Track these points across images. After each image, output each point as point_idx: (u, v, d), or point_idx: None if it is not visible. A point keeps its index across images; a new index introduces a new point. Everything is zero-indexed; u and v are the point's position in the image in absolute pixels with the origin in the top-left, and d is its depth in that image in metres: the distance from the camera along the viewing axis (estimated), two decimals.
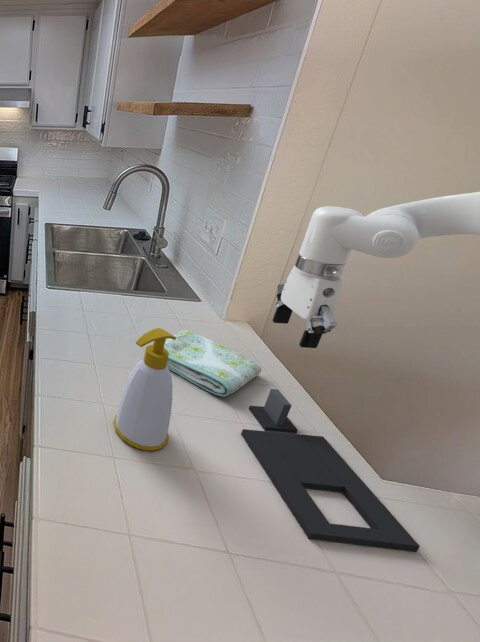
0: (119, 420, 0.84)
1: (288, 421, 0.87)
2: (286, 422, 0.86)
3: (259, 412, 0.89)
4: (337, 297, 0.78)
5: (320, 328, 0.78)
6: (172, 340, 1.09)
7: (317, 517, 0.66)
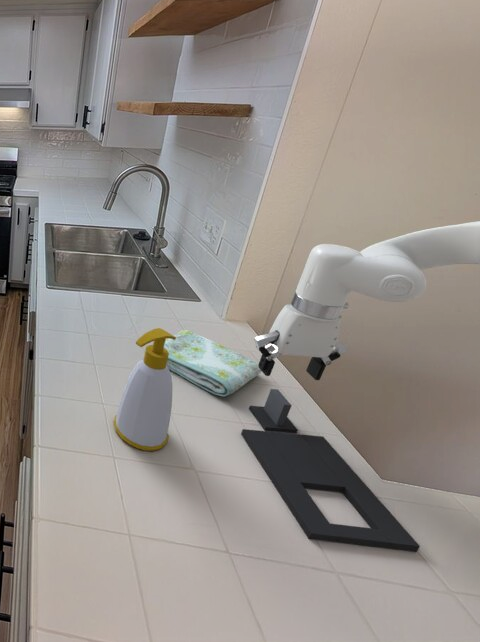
0: (119, 420, 0.84)
1: (288, 421, 0.87)
2: (286, 422, 0.86)
3: (259, 412, 0.89)
4: None
5: (338, 356, 0.79)
6: (172, 340, 1.09)
7: (317, 517, 0.66)
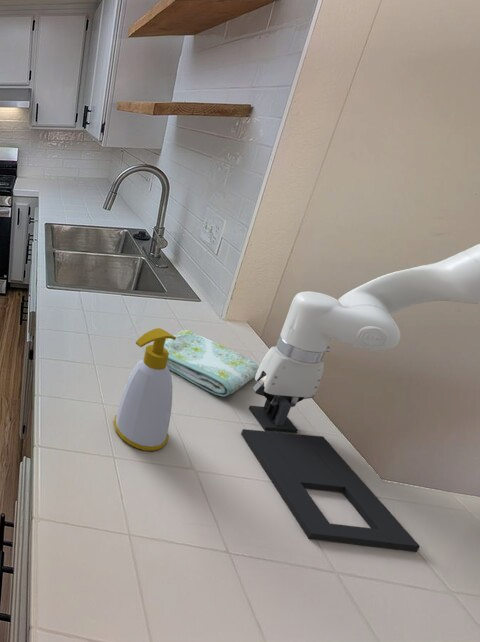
0: (119, 420, 0.84)
1: (288, 421, 0.87)
2: (286, 422, 0.86)
3: (259, 412, 0.89)
4: None
5: (302, 398, 0.84)
6: (172, 340, 1.09)
7: (317, 517, 0.66)
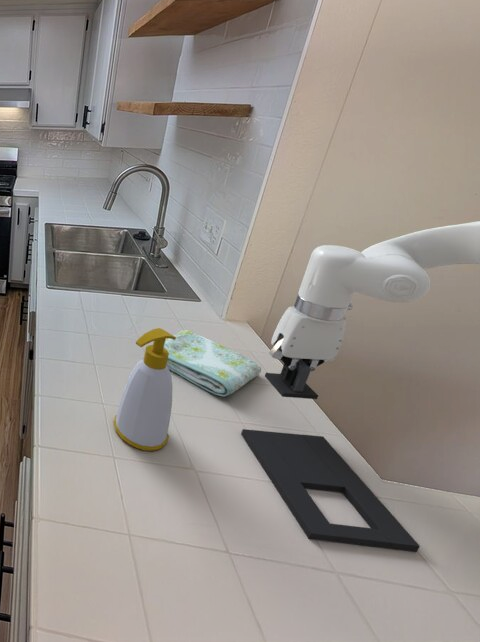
0: (119, 420, 0.84)
1: (307, 387, 0.82)
2: (305, 388, 0.81)
3: (276, 379, 0.84)
4: None
5: (322, 362, 0.79)
6: (172, 340, 1.09)
7: (317, 517, 0.66)
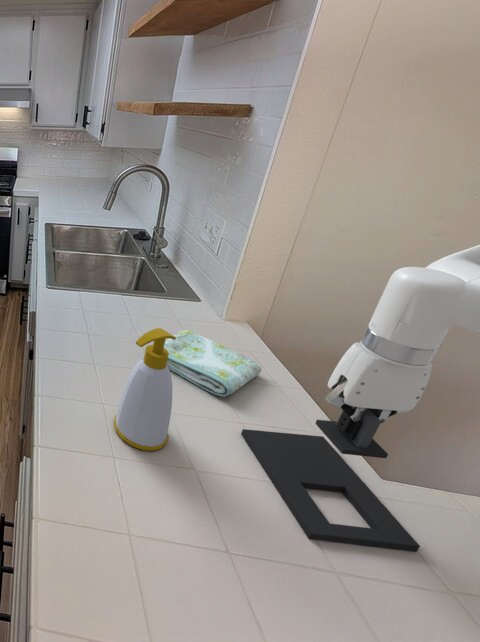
0: (119, 420, 0.84)
1: (372, 442, 0.65)
2: (370, 443, 0.65)
3: (331, 429, 0.68)
4: None
5: (394, 412, 0.63)
6: (172, 340, 1.09)
7: (317, 517, 0.66)
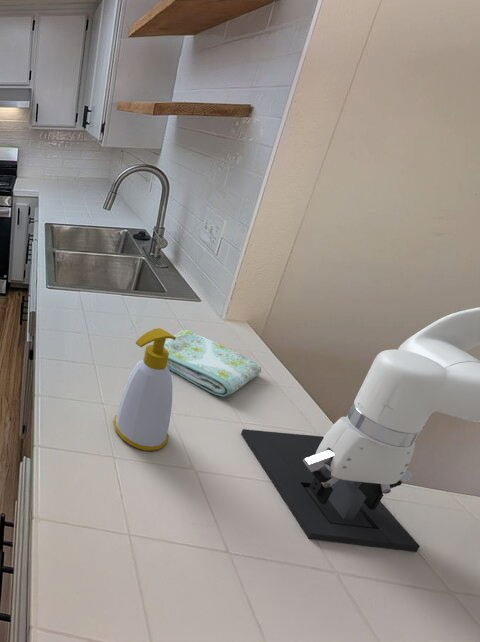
0: (119, 420, 0.84)
1: (358, 513, 0.67)
2: (356, 514, 0.67)
3: None
4: None
5: (399, 483, 0.64)
6: (172, 340, 1.09)
7: (317, 517, 0.66)
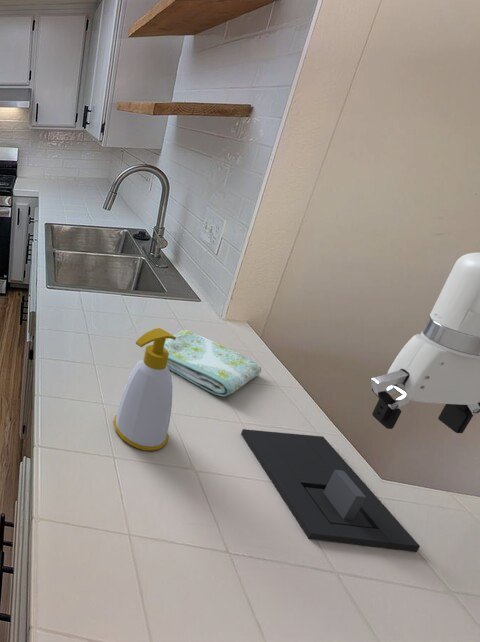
0: (119, 420, 0.84)
1: (358, 513, 0.67)
2: (356, 514, 0.67)
3: (318, 498, 0.70)
4: None
5: None
6: (172, 340, 1.09)
7: (317, 517, 0.66)
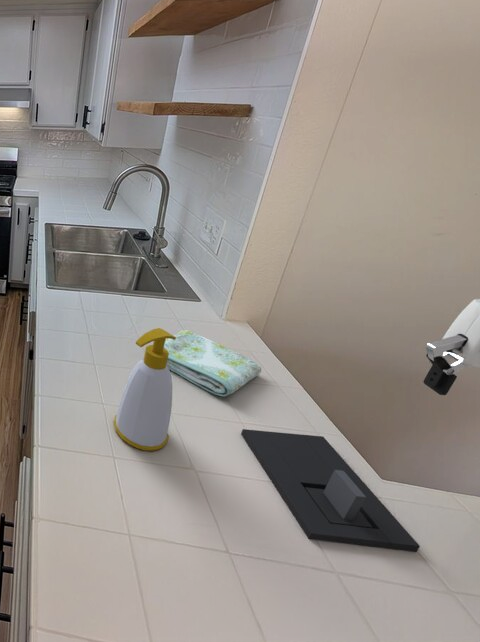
0: (119, 420, 0.84)
1: (358, 513, 0.67)
2: (356, 514, 0.67)
3: (318, 498, 0.70)
4: None
5: None
6: (172, 340, 1.09)
7: (317, 517, 0.66)
